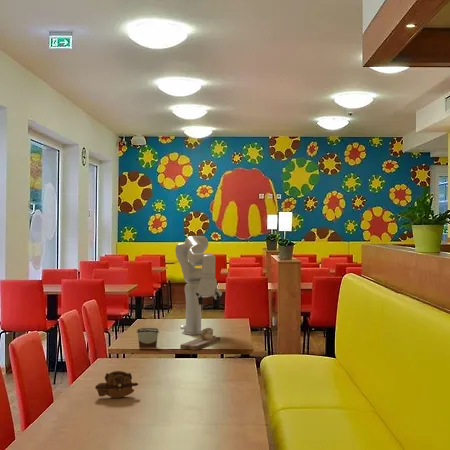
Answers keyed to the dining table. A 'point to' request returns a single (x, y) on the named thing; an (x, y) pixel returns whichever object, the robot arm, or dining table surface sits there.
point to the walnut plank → (199, 343)
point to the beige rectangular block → (207, 333)
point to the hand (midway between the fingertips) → (208, 305)
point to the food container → (148, 337)
